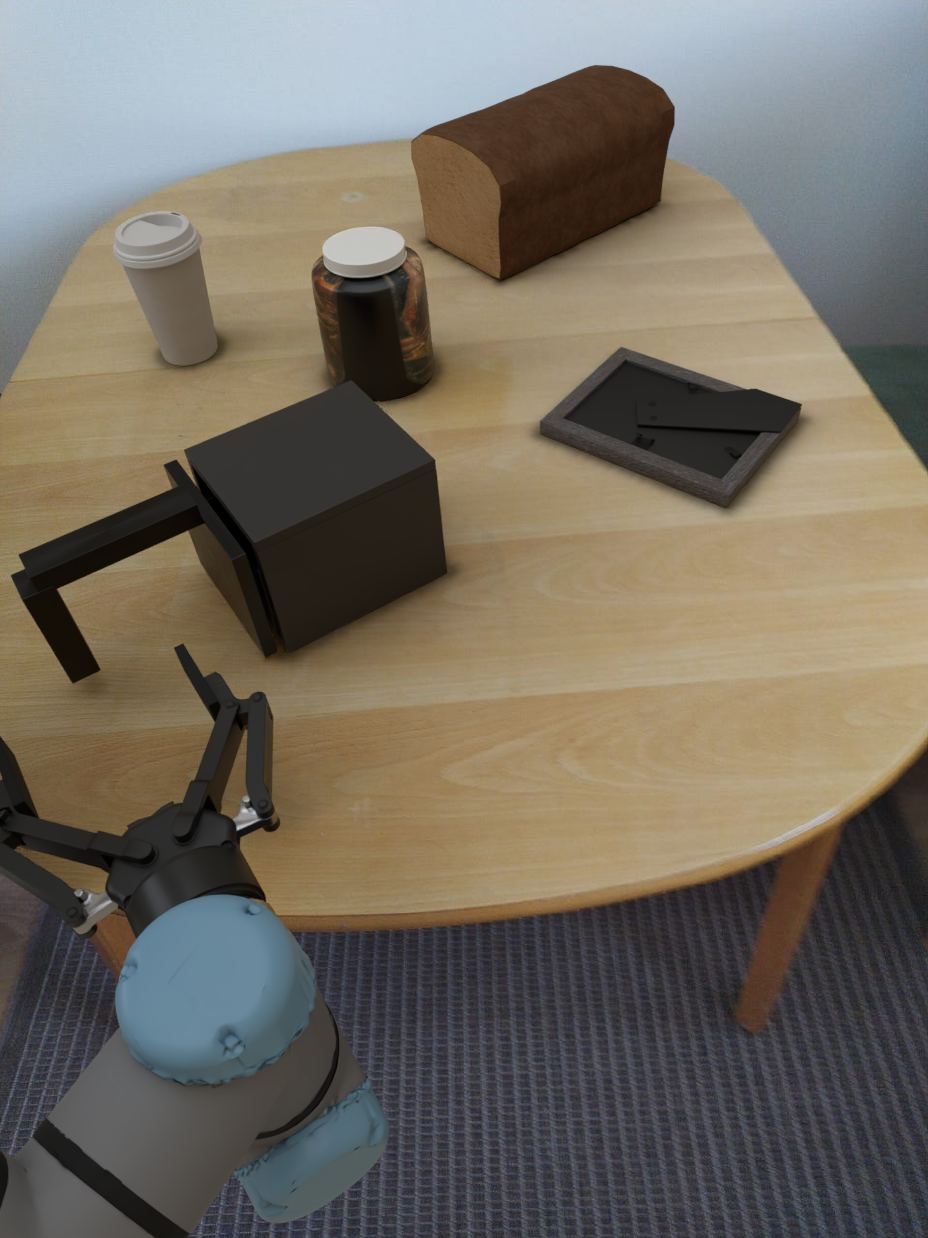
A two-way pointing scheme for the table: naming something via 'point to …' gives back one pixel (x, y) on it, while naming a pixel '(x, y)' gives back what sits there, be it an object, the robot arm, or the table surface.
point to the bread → (544, 168)
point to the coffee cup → (169, 283)
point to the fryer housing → (328, 508)
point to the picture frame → (673, 424)
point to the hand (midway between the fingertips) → (95, 700)
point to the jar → (373, 312)
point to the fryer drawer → (130, 534)
